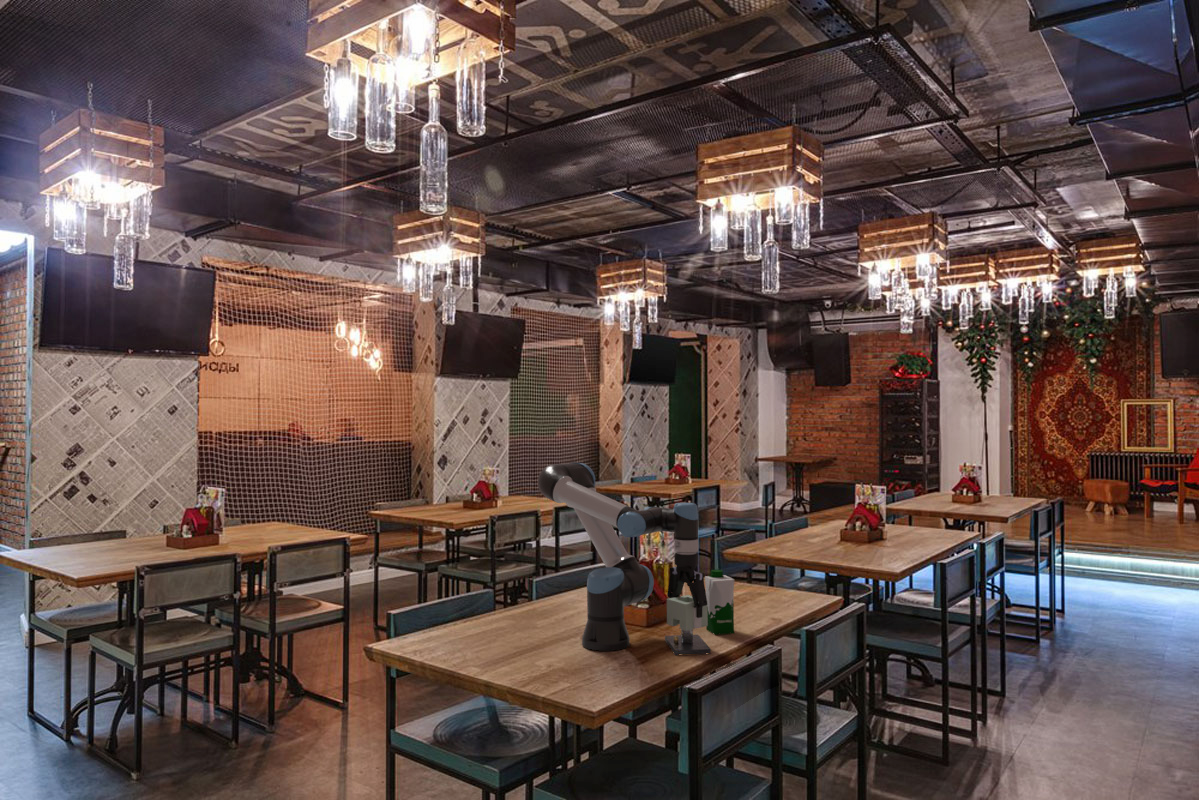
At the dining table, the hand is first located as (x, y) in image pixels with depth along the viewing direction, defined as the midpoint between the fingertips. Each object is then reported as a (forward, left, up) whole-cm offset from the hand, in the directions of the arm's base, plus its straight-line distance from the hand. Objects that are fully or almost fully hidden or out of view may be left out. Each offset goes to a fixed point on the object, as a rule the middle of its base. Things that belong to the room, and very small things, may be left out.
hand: (687, 624), depth 246 cm
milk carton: (+15, +16, -7) cm, 23 cm away
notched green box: (0, 0, 0) cm, 0 cm away
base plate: (0, 0, -7) cm, 7 cm away
